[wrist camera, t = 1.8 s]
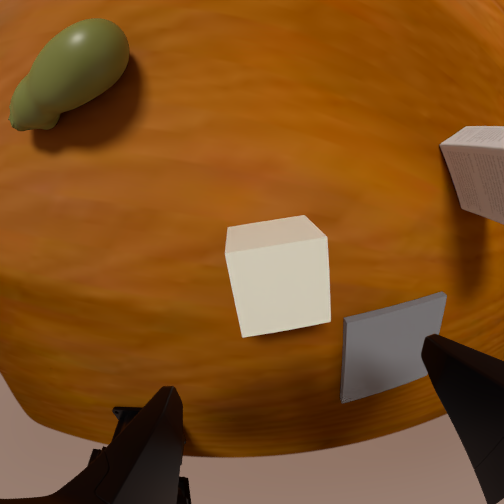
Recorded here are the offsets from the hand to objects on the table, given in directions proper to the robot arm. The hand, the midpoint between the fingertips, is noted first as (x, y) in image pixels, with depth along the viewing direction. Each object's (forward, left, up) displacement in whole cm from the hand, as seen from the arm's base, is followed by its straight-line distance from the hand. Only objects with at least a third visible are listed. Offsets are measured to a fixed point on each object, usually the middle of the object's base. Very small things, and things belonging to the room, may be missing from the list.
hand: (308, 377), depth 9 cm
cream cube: (0, 0, -11) cm, 11 cm away
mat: (+10, -11, -11) cm, 19 cm away
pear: (-11, +15, -11) cm, 22 cm away
